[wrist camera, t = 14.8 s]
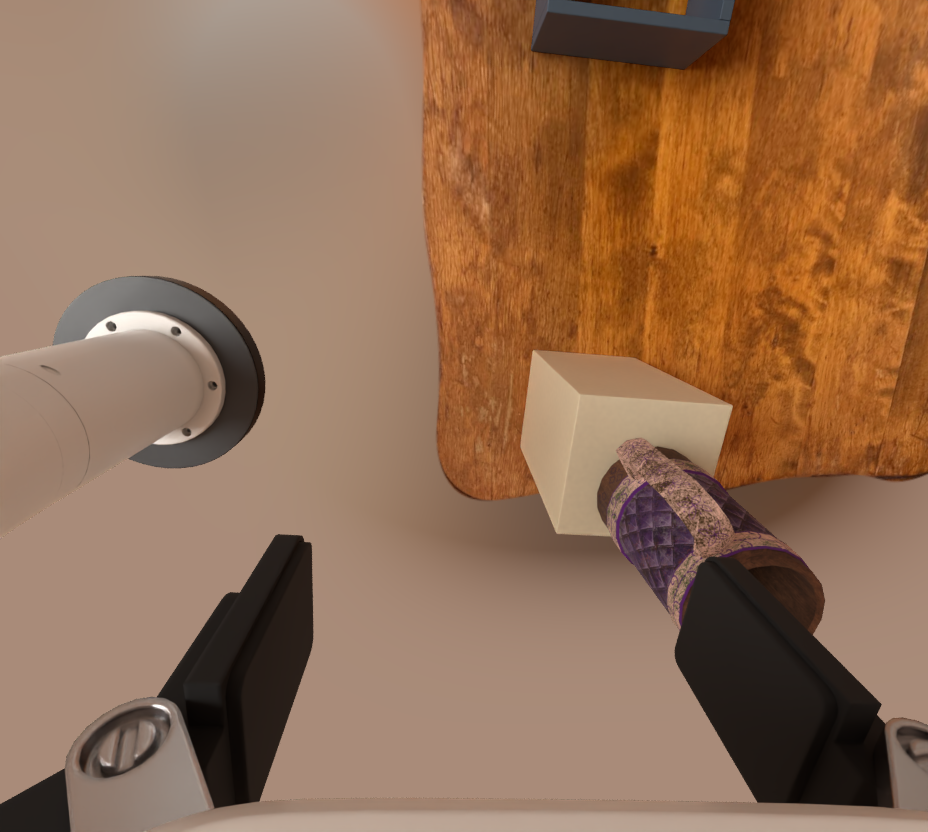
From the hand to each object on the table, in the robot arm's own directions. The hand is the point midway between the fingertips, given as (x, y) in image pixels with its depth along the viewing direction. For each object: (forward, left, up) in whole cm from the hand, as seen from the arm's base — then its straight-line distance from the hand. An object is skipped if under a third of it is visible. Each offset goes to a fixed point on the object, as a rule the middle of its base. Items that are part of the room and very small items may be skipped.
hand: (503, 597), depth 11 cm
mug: (+12, -5, -18) cm, 22 cm away
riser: (+12, -4, -34) cm, 37 cm away
